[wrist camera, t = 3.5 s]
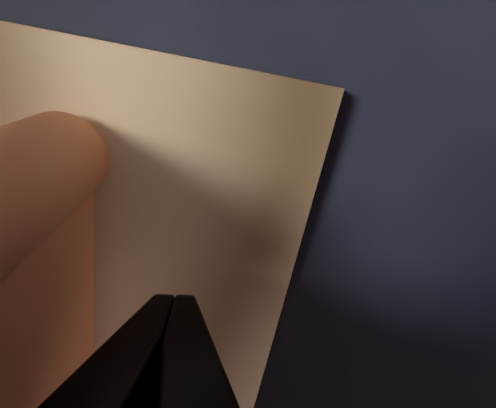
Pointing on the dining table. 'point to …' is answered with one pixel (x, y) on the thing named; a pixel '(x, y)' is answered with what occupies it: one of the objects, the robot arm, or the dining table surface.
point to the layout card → (184, 179)
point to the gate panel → (46, 252)
